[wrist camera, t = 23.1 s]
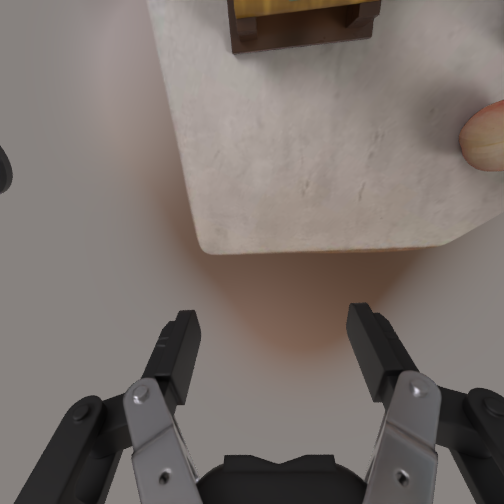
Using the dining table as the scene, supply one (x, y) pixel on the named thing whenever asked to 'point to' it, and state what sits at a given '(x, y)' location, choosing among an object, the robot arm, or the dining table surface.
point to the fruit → (485, 138)
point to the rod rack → (298, 23)
